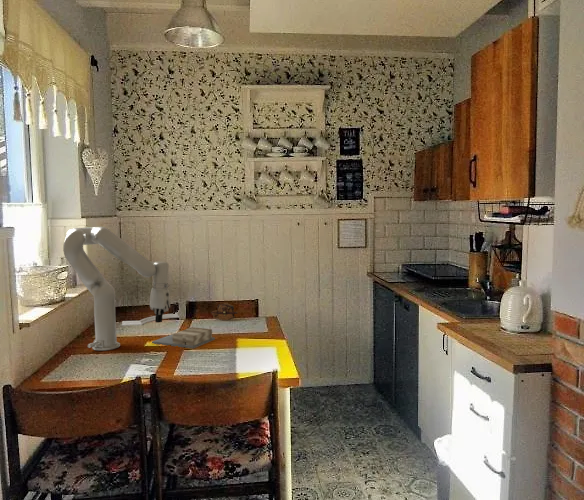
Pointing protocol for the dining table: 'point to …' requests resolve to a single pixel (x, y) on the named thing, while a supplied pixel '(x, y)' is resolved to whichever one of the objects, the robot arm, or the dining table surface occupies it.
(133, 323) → the molding
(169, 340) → the floor panel
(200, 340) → the fixed plank
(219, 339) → the dining table surface
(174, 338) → the ash plank
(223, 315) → the wooden carving
